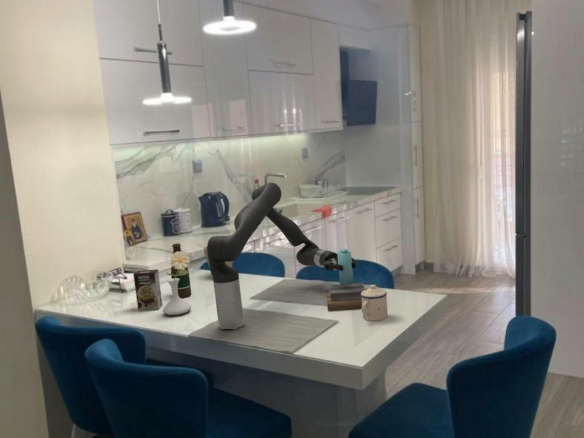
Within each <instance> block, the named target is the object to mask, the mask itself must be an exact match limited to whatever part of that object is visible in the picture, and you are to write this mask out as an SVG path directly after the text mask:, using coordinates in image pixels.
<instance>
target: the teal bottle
mask: <svg viewBox="0 0 584 438" xmlns="http://www.w3.org/2000/svg"><path fill="white" fill-rule="evenodd" d="M336 253H337V255H338V264H340V265H343V271H339V270H338V274H339V275H338V277H339V285H341V284H342V285H349V284H354V272H353V271H354V270H353V268H352V259H351V257H352V251H350V250H349V249H347V248H343V249H340V251H338V252H336Z"/></svg>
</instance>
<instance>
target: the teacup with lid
mask: <svg viewBox="0 0 584 438" xmlns="http://www.w3.org/2000/svg"><path fill="white" fill-rule="evenodd" d="M387 295H388V294H387V291H386V290H385V289H383V288H382V289H381V288H379V287H377V285H375V284H371V285H369V287H368V288H367V290H364V291H363V292H362V293H361V297H362V309H361V312H362V318H363V319H364V320H366V321H369V322H381V321H384V320H386V319H387V318H388V317H389V316H388V304H387V303H388V301H387Z"/></svg>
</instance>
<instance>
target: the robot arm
mask: <svg viewBox="0 0 584 438" xmlns="http://www.w3.org/2000/svg"><path fill="white" fill-rule="evenodd" d="M251 196H252V197H251V199H252V201H250V202H249V203H248V204H246V205H245V206H244V207H242V208H241V209H240V211H239V212H238V213H237V214H236V216H235V218H234V220H233V222H234V223H233V224H234V230H235V232H234V233H232V234H229V235H213V236H211V237H210V238H209V239H208V241H207V245H206V247H207V254H208V260H209V265H210V268H209V271H210V275H211V277H212V281H213V289H214V291H213V292H214V298H215V306H216V314H217V320H218V321H217V322H218V324H217V325H218V328H219V327H220V328H221V329H233V330H238V329H240V328H241V326H242V327H243V326H244V325H245V319H244V318H245V317H244V312H243V311H244V310H243V302H242V301H243V300H242V292H241V284H240V275H239V271H238V270H237V269H236V268H233V267H232V268H231V267H229V266H228V265H227V264H226V263H225V262H231V261H233V262H235V261H236V260H237V259H239V257H240V256H241V254H242V252H243V251H244V249H245V247H246V245H247V243H248V241H249V240H250V239H251V237H252V235H253V234H254V233H255V231H256V230H257V229H258V228H259V227H260V225H261V224H262V222H263V221H264V219H265V218H267V219H268V220H270V222H272V223H273V224H274V225H275V226H276V227H277V228H278V229H279V231H280V232H281V233H282V234H283V235H284V237H285V239H286V240H287V242H289V243H290V245H291V246H292V247H295V248H296V247H299V246H300V245H303V244H304V245H303V246H302V248H300V249H299V250H298V251H297V252H296V255H295V258H296V260H297V262H298V264H300V265H302V266H305V267H306V266H308V267H309V266H317V267H319V268H320V269H321V270H325V271H331V272H332V271H338V272H339V271H343V265H340V264H338V255H337V253H338V252H335V251H332V250H327V249H322V248H319V246H318V245H317V244H316V243H315V242H313V241H312V240H311V239H310V238H309V237H307V236H306V235H305V234H304V233H303V231H302V230H301V228H300V227H299V225H298V224H297V223H296V222H295V221H293V220H292V219H290V218H289V217H287V216H284V215H283V214H281V213H280V212H278V211H277V210H276V209H275V206H276V205H277V204H278V203H280V201H281V198H282V190H281V187H280V186H279V185H278V184H277V183H275V182H267V183H264V184H263V185H261V186H259V187H257V188H256V189H254V190H253V191H252V194H251ZM351 259H352V269H357V262H355V261H356V260H355V258H354V257H352V256H351ZM209 265H208V266H209ZM239 327H240V328H239ZM220 328H219V329H220ZM221 329H220V330H221Z"/></svg>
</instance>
